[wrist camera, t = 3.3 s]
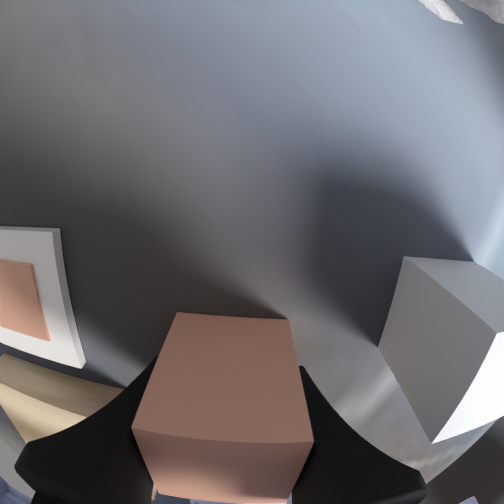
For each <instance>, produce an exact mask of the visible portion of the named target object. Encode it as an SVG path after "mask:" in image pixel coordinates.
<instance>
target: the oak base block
mask: <svg viewBox="0 0 504 504" xmlns="http://www.w3.org/2000/svg"><path fill="white" fill-rule="evenodd" d="M123 390H124V389H121V388H117V387H112V386H108V385H104V384H99V383H95V382H92V381H88V380H84V379H80V378H77V377H73V376H70V375H66V374H63V373H60V372H57V371H53V370H50V369H47V368H44V367H41V366H39V365H36V364H33V363H30V362H27V361H25V360H22V359H19V358H17V357H14V356H12V355H9V354H7V353H4V354H3V355H2V356H1V357H0V404H1V406H2V408H3V409H4V411H5V412H6V414H7V416H8V417H9V419H10V420H11V422H12V423H13V425H14V426H15V428H16V429H17V431H18V432H19V434H20V435H21V437H22V438H23V439H24V441H25V442H26V444H27V443H28V442H29V441H33V440H36V439H39V438H43V437H46V436H49V435H52V434H54V433H57V432H59V431H62V430H64V429H66V428H68V427H71V426H73V425H75V424H77V423H78V422H80V421H82V420H84V419H85V418H87V417H89V416H90V415H92V414H94V413H95V412H96V411H98V410H99V409H101V408H102V407H104V406H105V405H106V404H108V403H109V402H110V401H111V400H113V399H114V398H115V397H116V396H117V395H118V394H120V393H121V392H122V391H123ZM156 492H157V488H156V486H155V484H154V485H153V492H152V500H153V501H155V496H156Z"/></svg>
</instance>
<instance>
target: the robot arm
mask: <svg viewBox="0 0 504 504" xmlns="http://www.w3.org/2000/svg"><path fill="white" fill-rule="evenodd" d="M158 357H159V356H157V357H155V358H154V360H153V361H152V362H151V363H150V364H149V365H148V366H147V367H146V368H145V369H144V370H143V371H142V372H141V374H140V375H139V376H138V377H137V378H136V379H135V380H134V381H133V382H132V383H130V384H129V385H128V386H127V387H126V388H125V389H124V390H123V391H122V392H121V393H120V394H118V395H117V396H116V397H115V398H114V399H113V400H111V401H110V402H109V403H108V404H106V405H105V406H104V407H102V408H101V409H99V410H98V411H96V412H95V413H94V414H92V415H90V416H89V417H87V418H85V419H84V420H82V421H80V422H78V423H77V424H75V425H73V426H71V427H68V428H66V429H64V430H62V431H59V432H57V433H54V434H52V435H49V436H46V437H43V438H39V439H36V440H33V441H29V442H28V443H27V444H26V446H25V447H24V449H23V451H22V452H21V454H20V456H19V458H18V460H17V462H16V464H15V466H14V467H15V470H16V472H17V473H18V474H19V475H20V477H21V478H22V479H23V480H24V481H25V482H26V483H27V484H29V486H31V488H32V489H33V490H35V491H36V492H35V494H34V497H33V499H31V498H29V497H28V496H26V495H24V494H22V493H21V492H19V491H17V490H16V489H14V488H13V487H11V486H9V485H8V483H7V482H6V481H5V480H4V479H3V478H1V477H0V504H151V500H152V492H153V485H154V482H153V480H152V478H151V475H150V473H149V471H148V469H147V466H146V464H145V462H144V459H143V457H142V455H141V452H140V450H139V447H138V444H137V442H136V439H135V437H134V434H133V431H132V428H131V427H132V424H133V421H134V419H135V416H136V413H137V411H138V408H139V405H140V403H141V400H142V397H143V395H144V392H145V390H146V387H147V384H148V382H149V379H150V377H151V374H152V372H153V369H154V367H155V364H156V362H157V359H158ZM299 370H300V375H301V380H302V385H303V389H304V394H305V399H306V404H307V409H308V414H309V419H310V423H311V428H312V433H313V438H314V443H313V445H312V448H311V450H310V452H309V455H308V457H307V459H306V462H305V464H304V466H303V468H302V470H301V473H300V475H299V477H298V479H297V481H296V483H295V485H294V487H293V489H292V504H418V503H420V502H421V501H422V500H423V499H424V498H425V497H426V495H427V493H428V489H427V487H426V484H425V481H424V479H423V477H422V475H421V473H420V471H418V470H416V469H413V468H411V467H409V466H407V465H405V464H403V463H400V462H398V461H397V460H395V459H393V458H391V457H390V456H388V455H386V454H385V453H383V452H382V451H380V450H379V449H377V448H376V447H374V446H373V445H372V444H370V443H369V442H368V441H366V440H365V439H364V438H362V437H361V436H360V435H359V434H358V433H357V432H356V431H354V430H353V429H352V428H351V427H350V426H349V425H348V424H347V423H346V422H345V421H344V420H343V419H342V418H341V417H340V415H339V414H338V413H337V412H336V411H335V410H334V409H333V407H332V406H331V405H330V404H329V402H328V401H327V400H326V399H325V397H324V396H323V395H322V393H321V392H320V391H319V389H318V388H317V386H316V385H315V383H314V382H313V380H312V379H311V377H310V376H309V374H308V373H307V371H306V370H305V368H304V367H303V366H299ZM190 503H191V504H255V503H227V502H214V501H204V500H195V499H190ZM265 504H287V501H286V503H265ZM459 504H478V503H477V500H476V498H475V497H471V498H469V499H467V500H465V501H463V502H461V503H459Z"/></svg>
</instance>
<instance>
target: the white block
mask: <svg viewBox="0 0 504 504" xmlns="http://www.w3.org/2000/svg"><path fill="white" fill-rule="evenodd" d="M378 348H379V350H380V352H381V353H382V355H383V357H384V359H385V360H386V362H387V364H388V365H389V367H390V369H391V371H392V372H393V374H394V376H395V378H396V379H397V381H398V383H399V385H400V386H401V388H402V390H403V392H404V394H405V395H406V397H407V399H408V401H409V403H410V405H411V406H412V408H413V410H414V412H415V414H416V416H417V418H418V419H419V421H420V423H421V425H422V427H423V429H424V431H425V433H426V435H427V437H428V439H429V441H430V443H431V444H432V443H436V442H439V441H442V440H445V439H448V438H451V437H454V436H456V435H459V434H462V433H464V432H467V431H470V430H472V429H475V428H477V427H479V426H482V425H484V424H486V423H489V422H491V421H493V420H495V419H498V418H499V417H502V416H503V415H504V280H503V279H501V278H500V277H498V276H497V275H495V274H494V273H492V272H490V271H489V270H487V269H486V268H484V267H482V266H481V265H479V264H477V263H476V262H472V261H459V260H447V259H434V258H421V257H407V256H403V261H402V265H401V269H400V273H399V278H398V281H397V285H396V289H395V293H394V297H393V300H392V304H391V307H390V311H389V314H388V317H387V321H386V324H385V327H384V330H383V333H382V336H381V339H380V342H379V345H378Z"/></svg>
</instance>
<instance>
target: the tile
mask: <svg viewBox="0 0 504 504" xmlns="http://www.w3.org/2000/svg"><path fill="white" fill-rule="evenodd" d="M0 343H3V344H6V345H8V346H11V347H13V348H16V349H19V350H22V351H24V352H27V353H30V354H33V355H36V356H39V357H42V358H45V359H49V360H52V361H55V362H59V363H62V364H66V365H69V366H73V367H76V368H80V369H82V367H83V366H84V364H85V363H86V360H85V357H84V353H83V350H82V346H81V343H80V339H79V335H78V331H77V327H76V323H75V319H74V315H73V310H72V305H71V301H70V296H69V290H68V285H67V279H66V273H65V267H64V260H63V252H62V244H61V235H60V228H38V227H11V226H0Z"/></svg>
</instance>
